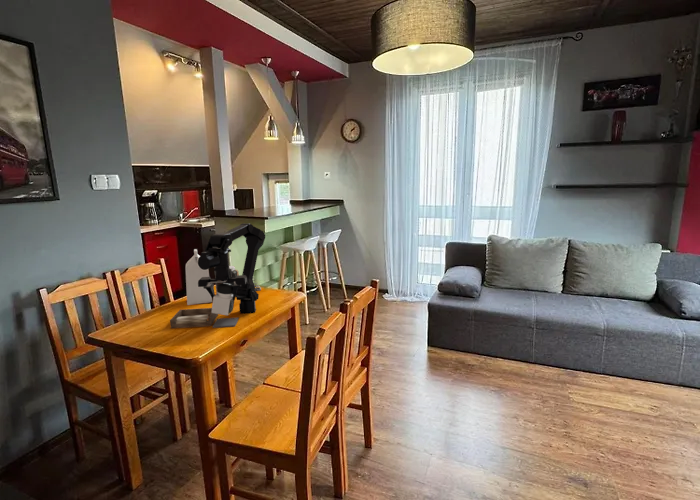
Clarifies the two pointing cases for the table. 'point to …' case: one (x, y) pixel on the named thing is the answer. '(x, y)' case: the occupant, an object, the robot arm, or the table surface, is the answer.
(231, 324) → the rubber mat
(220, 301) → the medicine bottle
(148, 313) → the table surface
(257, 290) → the house of cards
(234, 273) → the jar
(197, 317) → the offcut stack
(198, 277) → the milk
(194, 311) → the walnut rack
